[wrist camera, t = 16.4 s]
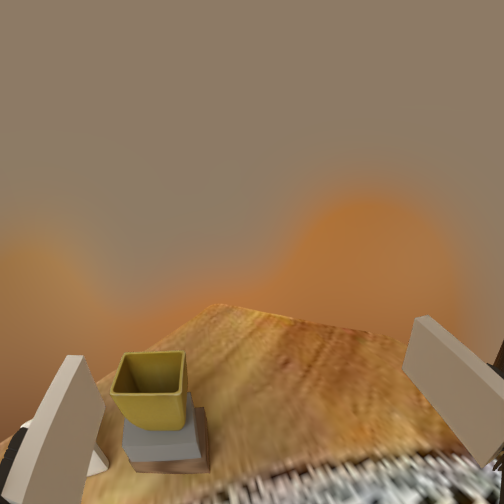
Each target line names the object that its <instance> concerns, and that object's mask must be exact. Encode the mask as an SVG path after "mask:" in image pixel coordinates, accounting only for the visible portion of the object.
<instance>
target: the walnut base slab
mask: <svg viewBox="0 0 504 504" xmlns="http://www.w3.org/2000/svg"><path fill="white" fill-rule="evenodd" d="M194 409H195V417H196V424H197V431H198V438H199V445H200V452H201V458H194V459H184V460H171V461H150V462H131V460H130V459H129V462H130V463H131V465H132V467H133V468H134V470H135V471H136V472H141V473H162V474H196V473H210V470H209V453H208V433H207V418H206V414H205V410H204V407H199V408H194Z"/></svg>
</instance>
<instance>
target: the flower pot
mask: <svg viewBox="0 0 504 504" xmlns="http://www.w3.org/2000/svg"><path fill="white" fill-rule="evenodd" d="M187 388H188V376H187V365H186V353H185V351H184V350H175V351H155V352H126V353H124V355H123V356H122V359H121V361H120V364H119V367H118V369H117V372H116V375H115V378H114V380H113V383H112V386H111V389H110V395H111V397H112V398H113V400H114V402H115V403H116V405H117V406H118V408H119V409H120V411H121V412H122V414H123V415H124V416H125V418H126V419H127V420H128V421H129V422H131V423H132V424H134V425H135V426H137V427H139V428H141V429H144V430H148V431H179V430H181V429H182V428H183V426H184V425H185V422H186V402H187Z"/></svg>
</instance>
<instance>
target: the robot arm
mask: <svg viewBox="0 0 504 504" xmlns="http://www.w3.org/2000/svg"><path fill="white" fill-rule="evenodd" d="M402 370H403V371H404V372H405V373H406V375H407V376H408V377H409V378H410V379H411V381H412V382H413V383H414V384H415V385H416V387H417V388H418V389H419V390H420V391H421V393H422V394H423V395H424V396H425V397H426V399H427V400H428V401H429V402H430V403H431V405H432V406H433V407H434V408H435V410H436V411H437V412H438V413H439V415H440V416H441V417H442V418H443V419H444V421H445V422H446V423H447V424H448V426H449V427H450V428H451V429H452V431H453V432H454V433H455V434H456V436H457V437H458V438H459V440H460V441H461V442H462V443H463V445H464V446H465V447H466V448H467V450H468V451H469V452H470V454H471V455H472V456H473V458H474V459H475V460H476V461H477V463H478V464H479V465H480V467H481V468H483V467H484V466H486V465H487V464H488V463H490V462H491V461H492V460H494V459H495V458H496V457H497V455H498V454H499V453H500V452H501V451H504V341H503V343H502V345H501V348H500V350H499V353H498V355H497V357H496V360H495V362H494V364H493V365H490V364H488V363H487V364H486V363H485V362H483V361H482V360H481V359H480V358H479V357H478V356H477V355H475V354H474V353H473V352H472V351H471V350H470V349H468V348H467V347H466V346H465V345H463V343H461V342H460V341H459V340H458V339H457V338H455V337H454V336H453V335H452V334H451V333H450V332H448V331H447V330H446V329H445V328H443V327H442V326H441V325H440V324H438V323H437V322H436V321H435V320H434V319H432V318H431V317H430V316H429V315H425V316H422V317H417V318H415V319H414V324H413V328H412V332H411V337H410V340H409V344H408V348H407V352H406V355H405V359H404V362H403V366H402ZM105 408H106V406H105V404H104V402H103V399H102V397H101V395H100V393H99V391H98V389H97V386H96V384H95V382H94V380H93V377H92V375H91V373H90V370H89V368H88V365H87V363H86V360H85V358H84V356H75V355H74V356H72V355H67V357H66V359H65V360H64V362H63V364H62V365H61V367H60V369H59V371H58V372H57V374H56V376H55V378H54V380H53V382H52V383H51V385H50V387H49V389H48V391H47V393H46V394H45V396H44V398H43V400H42V402H41V404H40V406H39V408H38V410H37V412H36V414H35V416H34V418H33V420H32V422H31V424H30V426H29V428H25V427H22V428H21V429H20V430H19V431H18V432H17V433H16V434H15V435H14V436H13V437H12V439H11V441H10V444H9V446H8V450H6V452H5V454H4V459H2V461H1V464H0V504H81V499H82V494H83V490H84V485H85V481H86V477H87V473H88V469H89V464H90V461H91V457H92V453H93V449H94V445H95V442H96V438H97V435H98V431H99V428H100V424H101V421H102V418H103V414H104V411H105ZM501 463H502V465H501V466H500V467H499V469H498V471H502V478H501V491H500V501H499V504H504V454H503V455H502V456H501V457H500V459H499V460H498V461H497V462H496V464H495V465H494V467H493V470H492V471H495V470H496V469H497V468H498V466H499V465H500V464H501Z"/></svg>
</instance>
